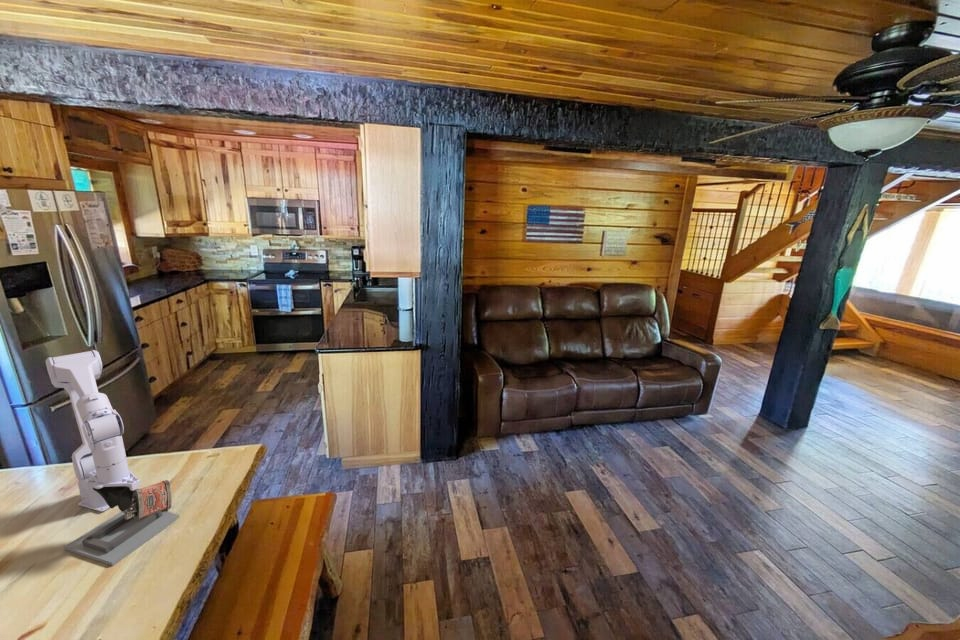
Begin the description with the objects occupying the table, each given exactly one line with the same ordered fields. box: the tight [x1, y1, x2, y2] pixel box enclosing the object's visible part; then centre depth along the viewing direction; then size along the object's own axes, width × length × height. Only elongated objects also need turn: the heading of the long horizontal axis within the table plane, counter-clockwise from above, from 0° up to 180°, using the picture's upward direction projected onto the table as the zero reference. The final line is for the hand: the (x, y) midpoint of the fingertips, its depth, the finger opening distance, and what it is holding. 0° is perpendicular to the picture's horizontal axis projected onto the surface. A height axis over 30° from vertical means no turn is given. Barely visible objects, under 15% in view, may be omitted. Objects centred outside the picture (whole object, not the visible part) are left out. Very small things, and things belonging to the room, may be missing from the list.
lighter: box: [122, 479, 173, 521], centre depth 103 cm, size 8×3×10 cm
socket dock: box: [63, 510, 180, 567], centre depth 99 cm, size 16×16×2 cm
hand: (120, 507), depth 98 cm, fingers open, 3 cm apart
